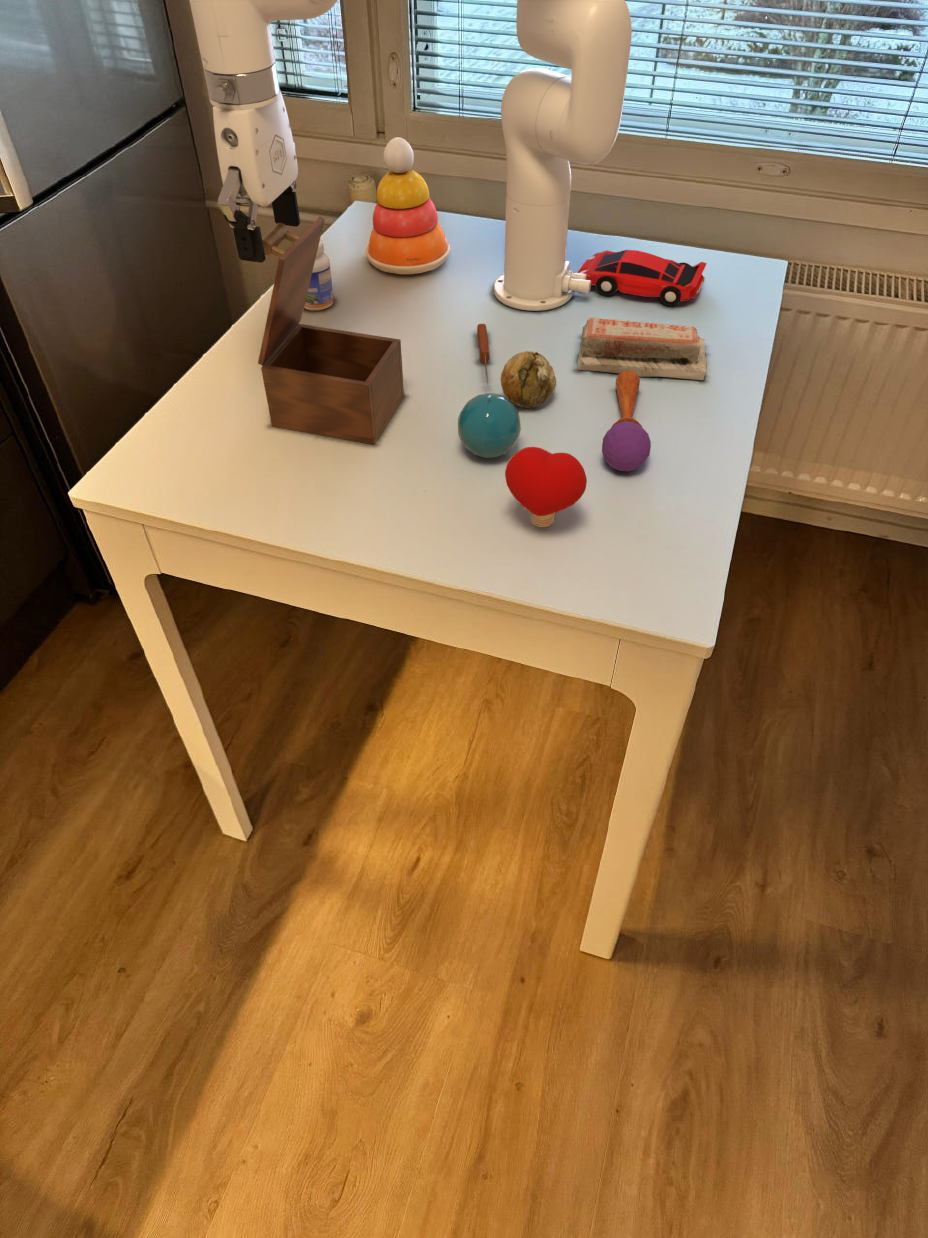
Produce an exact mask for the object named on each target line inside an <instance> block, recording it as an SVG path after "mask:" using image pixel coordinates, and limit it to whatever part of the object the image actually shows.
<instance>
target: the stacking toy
mask: <svg viewBox="0 0 928 1238" xmlns="http://www.w3.org/2000/svg"><path fill="white" fill-rule="evenodd" d="M414 161H415V155H414V150H413V148H412V146H411V145H410V143H409V142H408V141H407V140H406V139H405V138H403V137H397V136H396V137H393V138H392V139H390V140H389V141H388V142H387V144H386V145H385V147H384V151H383V162H384V166H385V167H386V169H388V170H389V171H388V172H387V173H385V174H384V175H383V176H382V178H381V180H380V181H379V183H378V186H377V189H376V204H375V206H374V209H373V213H372V226H373V228H372V230H371V233H370V236H369V241H368V244H367V246H366V248H365V256H366V259H367V260H368V262H369V263H370V264H371V265H372V266H373V267H375V268H376V269H378V270H379V271H382V272H384V273H389V274H396V275H415V274H416V275H417V274H421V273H426V272H429V271H433V270H436V269H437V268H439V267H440V266H442V265H443V264H444V263H445V262H446V261H447V260H448V258H449V256H450V255H451V245H450V243H449V241H448V240H447V239H446V235H445V232H444V230H443V227H442V226H441V224H440V223H439V216H438V211H437V208H436V206H435V204H434V202H433V200H432V199H431V198H430V190H429V187H428V184H427V183H426V181H425V179H424V178H423V176H422V175H420V173H418V172H417V171H415V170H414V169H411V168H412V167H413V164H414Z"/></svg>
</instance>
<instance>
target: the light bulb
mask: <svg viewBox="0 0 928 1238" xmlns="http://www.w3.org/2000/svg"><path fill="white" fill-rule="evenodd" d="M504 471H505V472H504V478H505V483H506V487H507V488H508V490H509V492H510V493H511V495H512V496H513V498H514V499H515V500H516V501H517V502H518V503H519V504H520V505H521V506H522V507H523V508H524V509H526V511H529V512H530V513H531V514H530V515H531V516H530V521H531V523H532V524H533V525H534V526H535V527H539V528H548V527H550V526H552V525H553V524H554V521H555V514H556V513H560V512H561V511H564V510H566V509H569V508H570V507H572V506H573V505H575V504H576V503H577V502H578V501H580V500H581V498H582V496H583V495H584V494H585V491H586V490H587V489H586V488H587V482H588V480H587V478H588V477H587V474H586V470H585V469H584V467H583V465H582V463H581V462H580V461H579V460H578V458H576V457H575V456H573V455H572V454H570V453H567V452H554V453H551V452H550V451H548V450H546V449H544V448H542V447H538V446H527V447H524V448H522V449H520V450H518V451H517V452H516V453H514V454H513V455H512V456H511V457H510V458H509V460H508V462H507V463H506V467H505V470H504Z"/></svg>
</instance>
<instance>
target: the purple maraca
mask: <svg viewBox="0 0 928 1238" xmlns="http://www.w3.org/2000/svg"><path fill="white" fill-rule="evenodd" d="M640 383H641V379H640V376H638V375H637V374H636V373H635V372H633V371H624V372H622V373H618V374H617V376H616V378H615V388H616V394H617V398H618V404H619V409H620V414H621V418H620V419H618V420H617V421H615V422H614V423H613V424H612V425H611V427H610V428H609V429H608V430H607V431H606V432H605V434H604V436H603V437H602V444H601V454H602V456H603V459H604V461H606V462H607V463H608V465H609V466H610V467H611V468H612V469H614V470H617V471H619V472H631V471H635V470H637V469H638V468H640V467H641V466H643V465H644V464H645V463H646V461H647V459H648V458H649V456H651V455H650V453H651V449H652V444H651V443H652V441H651V438H650V435H649V433H648V432H647V431H646V430H645V428H643V426H642V424H641V423H640V422H639V421H637V420H636V419H635V418H633V413H634V410H635V404H636V401H637V396H638V392H639V388H640V385H641V384H640Z"/></svg>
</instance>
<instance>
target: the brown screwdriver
mask: <svg viewBox="0 0 928 1238" xmlns="http://www.w3.org/2000/svg"><path fill="white" fill-rule="evenodd" d="M476 333H477V342H478V343H477V344H478V351H479V361H480V363H481V364H483V365H484V367H485V376H486V385H487V386H488V385H489V384H488V382H489V381H488V380H489V379H488V366H487V364H488V363H489V362H490V349H489V347H490V346H489V339H488V330H487V325H486V324H485V323H479V324H477V327H476Z"/></svg>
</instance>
